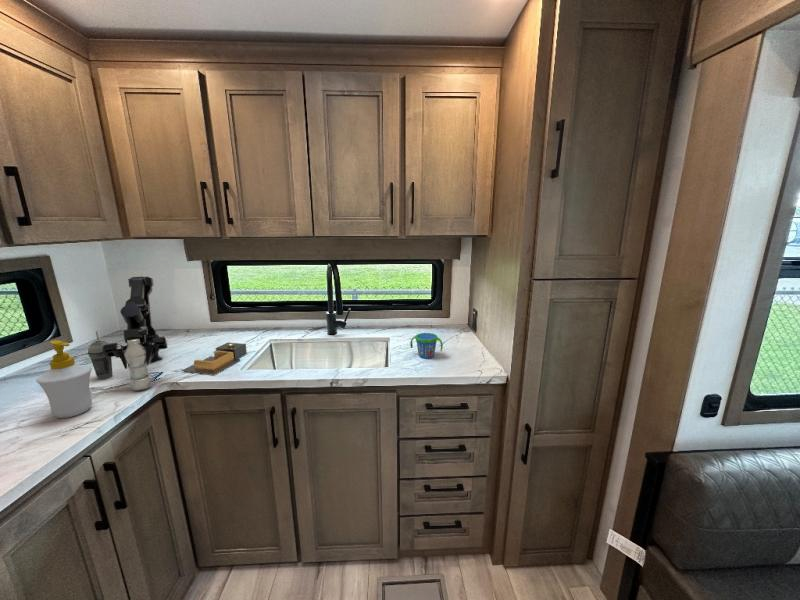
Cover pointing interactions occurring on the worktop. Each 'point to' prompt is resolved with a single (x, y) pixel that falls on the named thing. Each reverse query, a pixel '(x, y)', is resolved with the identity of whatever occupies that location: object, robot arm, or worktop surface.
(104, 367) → the beverage cup
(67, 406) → the soap bottle
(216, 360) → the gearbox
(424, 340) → the snack cup
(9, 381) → the worktop surface
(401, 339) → the worktop surface
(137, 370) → the plastic bottle
